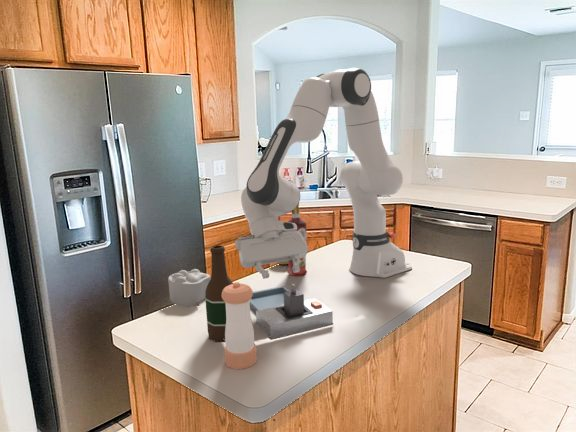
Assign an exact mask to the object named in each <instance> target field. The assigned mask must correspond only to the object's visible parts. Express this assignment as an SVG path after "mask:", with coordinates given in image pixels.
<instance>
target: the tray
mask: <svg viewBox="0 0 576 432" xmlns="http://www.w3.org/2000/svg"><path fill="white" fill-rule="evenodd" d="M287 291H291V289H289V288H287V287H286V286H285V285H282V286H276V287H272V288H266V289H261V290H256V291H255V290H254V291H252V292H253V295H252V298H251V299H250V309H252V310H253V311H254V312H255V313H256V311H258V310H262V309H267V308H272V307H276V306H281V305H284V292H287Z"/></svg>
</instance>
